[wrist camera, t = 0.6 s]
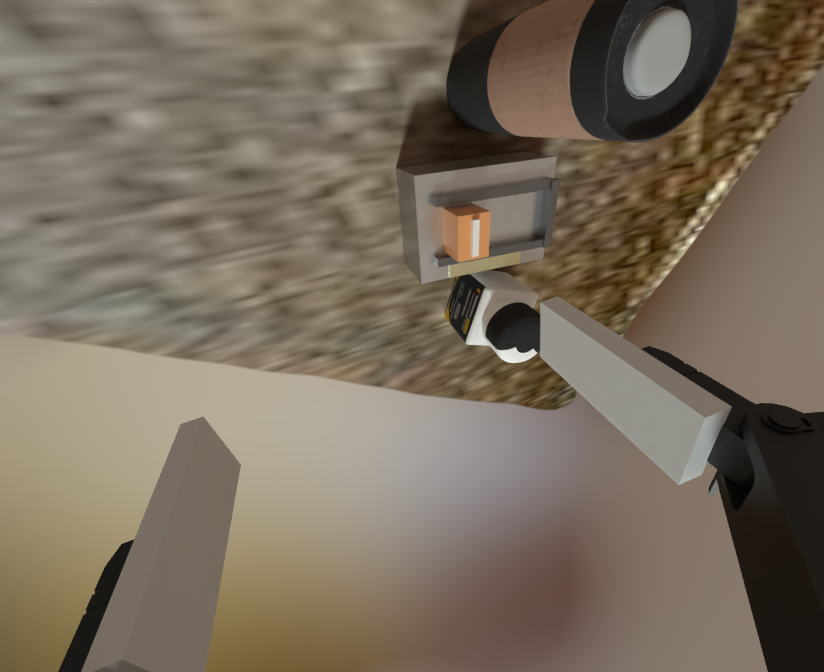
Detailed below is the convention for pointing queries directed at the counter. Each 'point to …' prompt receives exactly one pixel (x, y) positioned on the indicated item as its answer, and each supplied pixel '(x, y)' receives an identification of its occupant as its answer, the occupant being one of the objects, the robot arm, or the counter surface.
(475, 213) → the toggle
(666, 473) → the robot arm
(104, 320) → the counter surface
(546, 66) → the travel mug
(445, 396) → the counter surface
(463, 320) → the medicine bottle
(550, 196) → the grey boxy piece
